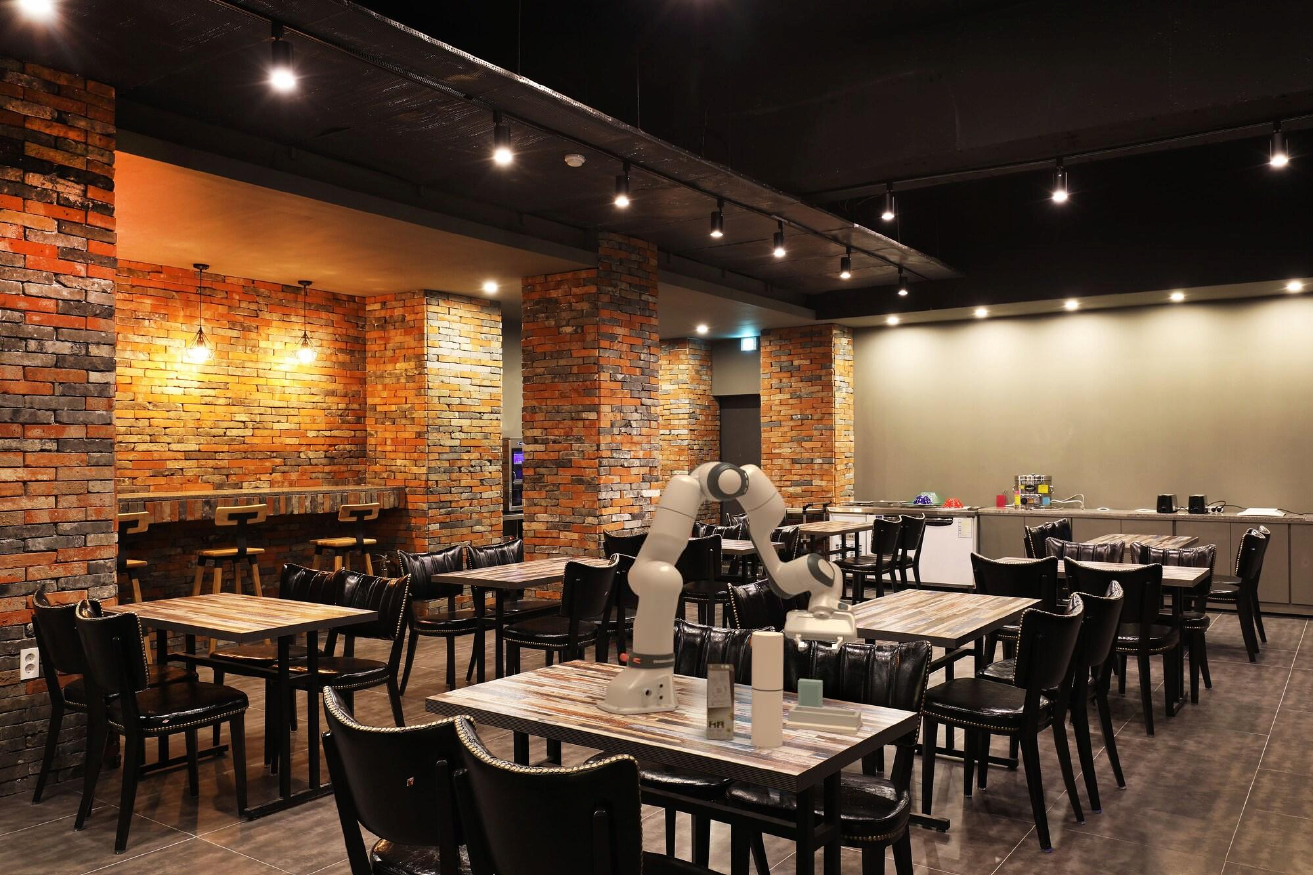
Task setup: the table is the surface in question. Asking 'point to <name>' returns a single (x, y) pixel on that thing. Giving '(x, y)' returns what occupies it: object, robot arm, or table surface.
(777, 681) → the cylindrical container
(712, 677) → the coffee box
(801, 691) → the door
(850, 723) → the track
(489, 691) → the table surface
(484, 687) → the table surface
